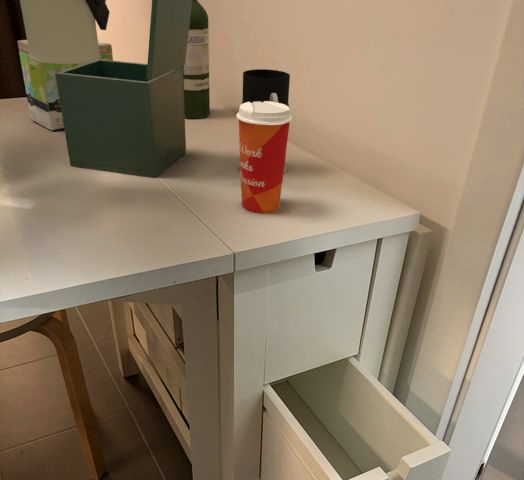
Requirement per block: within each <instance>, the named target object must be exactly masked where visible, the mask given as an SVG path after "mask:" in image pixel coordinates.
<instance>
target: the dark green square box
mask: <svg viewBox="0 0 524 480" xmlns="http://www.w3.org/2000/svg"><path fill="white" fill-rule="evenodd" d="M55 76H56V82H57V88H58V94H59V100H60V106H61V112H62V118H63V124H64V128H63V129H64V130H63V131H64V135H65V136H64V137H65V142H66V147H67V154H68V158H69V165H70V167H76V168H82V169H90V170H97V171H104V172H111V173H118V174H126V175H133V176H138V177H139V176H141V177H146V178H147V177H148V178H154V179H156V178H158V177H159V176H161V175H162V174H163V173H164V172H165V171H167V170H168V169H169V168H171V166H173V165H174V164H175V163H176V162H178V161H179V160H180V159H182V158H183V157H184V156H185V155H187V143H186V142H187V140H186V139H187V138H186V118H185V113H184V88H183V68H182V67H179V68H177V69H175V70H173V71H170V72H168V73H166V74H164V75H162V76H159V77H157V78H155V79H153V80H149V79H146V77H147V63H141V62H132V61H131V62H129V61H122V60H121V61H120V60H113V61H112V60H102V59H99V60H97V61H93V62H88V63H85V64H82V65H79V66H76V67H73V68H70V69H67V70H63V71H60V72H57V73H55Z"/></svg>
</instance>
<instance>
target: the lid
mask: <svg viewBox="0 0 524 480" xmlns="http://www.w3.org/2000/svg"><path fill="white" fill-rule="evenodd" d="M191 7H192V0H151V10H150V22H149V23H150V25H149V38H148V51H147V63H146V64H147V77H146V79H149V80H153V79H155V78H157V77H159V76H162V75H164V74H166V73H168V72H170V71H173V70H175V69H177V68H179V67H181V66H184V65H185V60H186V51H187V42H188V33H189V24H190V15H191Z"/></svg>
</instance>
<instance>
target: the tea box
mask: <svg viewBox="0 0 524 480" xmlns="http://www.w3.org/2000/svg"><path fill="white" fill-rule="evenodd" d="M98 45H99V51H100V54H101V58H100V59H102V60H112V61H114V57H113V47H112V44H111V43H109V42H105V41H101V40H99V39H98ZM17 47H18V55H19V59H20V65H21V70H22V76H23V83H24V87H25V94H26V99H27V105H28V106H27V107H28V110H29V116H30V120H32V121H34V122H35V123H37V124H38V125H40V126H43V127H44V128H45V129H48V130H50V131H56V130H60V129H61V130H62V129H64V124H63V118H62V112H61V106H60V100H59V94H58V88H57V82H56V76H55V73H57V72H60V71H63V70H67V69H70V68H73V67H76V66H79V65H82V64H85V63H80V64H51V63H42V62H37V61H34V60H31V59H30V58H29V49H28V42H27V39H21V40H17Z"/></svg>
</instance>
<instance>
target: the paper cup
mask: <svg viewBox="0 0 524 480" xmlns="http://www.w3.org/2000/svg"><path fill="white" fill-rule="evenodd" d="M235 116H236V119H238V138H239V139H238V141H239V142H238V143H239V162H240V171H239V172H240V192H241V193H240V194H241V205H242V208H243V209H244V210H246V211H248V212H251V213H255V214H256V213H257V214H267V213H273V212H275V211H277V210H278V209H279V208H280V203H281V195H282V187H283V179H284V174H285V173H284V165H285V161H286V160H285V156H286V157H287V147H288V140H289V131H290V122H292V121H293V116H292V114H291V109H290V106H289V107H288V106H287V105H284V104H281V103H277V102H269V101H264V102H261V101H257V102H253V103H250V102H246V103H243V104H239V108H238V112H237V113H236V115H235ZM283 173H284V174H283Z"/></svg>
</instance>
